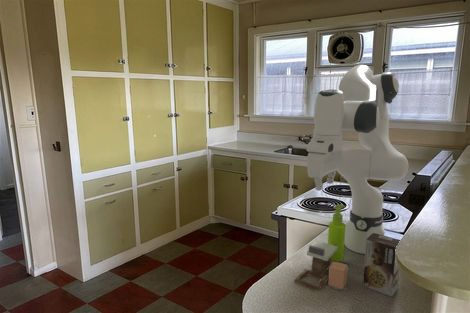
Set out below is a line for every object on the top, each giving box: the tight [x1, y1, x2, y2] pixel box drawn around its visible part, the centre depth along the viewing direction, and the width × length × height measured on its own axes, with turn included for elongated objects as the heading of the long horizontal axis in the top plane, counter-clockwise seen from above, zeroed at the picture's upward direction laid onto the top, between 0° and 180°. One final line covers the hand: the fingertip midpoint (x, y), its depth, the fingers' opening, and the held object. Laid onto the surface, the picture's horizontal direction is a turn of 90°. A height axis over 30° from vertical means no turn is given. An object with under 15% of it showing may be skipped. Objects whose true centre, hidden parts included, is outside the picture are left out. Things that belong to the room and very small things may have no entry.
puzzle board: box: [294, 257, 332, 291], centre depth 112 cm, size 18×8×6 cm, turn 144°
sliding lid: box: [306, 241, 338, 261], centre depth 115 cm, size 10×7×3 cm
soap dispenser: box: [327, 203, 347, 262], centre depth 123 cm, size 6×7×20 cm
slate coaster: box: [328, 283, 347, 291], centre depth 107 cm, size 6×6×1 cm
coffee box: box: [362, 233, 401, 297], centre depth 104 cm, size 9×6×16 cm
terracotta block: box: [327, 261, 348, 289], centre depth 106 cm, size 4×4×6 cm
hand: (324, 186), depth 106 cm, fingers open, 8 cm apart
